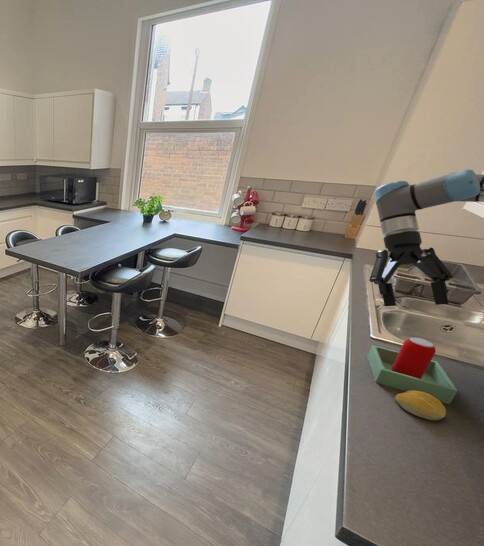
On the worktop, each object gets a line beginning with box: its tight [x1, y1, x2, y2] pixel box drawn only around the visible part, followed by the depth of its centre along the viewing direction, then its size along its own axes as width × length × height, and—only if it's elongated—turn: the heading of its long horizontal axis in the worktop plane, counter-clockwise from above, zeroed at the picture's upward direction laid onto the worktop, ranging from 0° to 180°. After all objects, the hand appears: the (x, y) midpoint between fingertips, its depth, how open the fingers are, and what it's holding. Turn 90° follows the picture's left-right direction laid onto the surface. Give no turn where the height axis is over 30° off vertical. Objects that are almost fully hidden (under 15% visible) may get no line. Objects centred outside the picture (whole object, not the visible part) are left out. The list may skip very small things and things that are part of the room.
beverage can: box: [391, 337, 436, 379], centre depth 88 cm, size 6×6×12 cm
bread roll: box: [394, 390, 447, 421], centre depth 79 cm, size 8×9×4 cm
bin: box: [366, 344, 458, 405], centre depth 90 cm, size 15×15×5 cm
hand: (416, 305), depth 88 cm, fingers open, 13 cm apart
